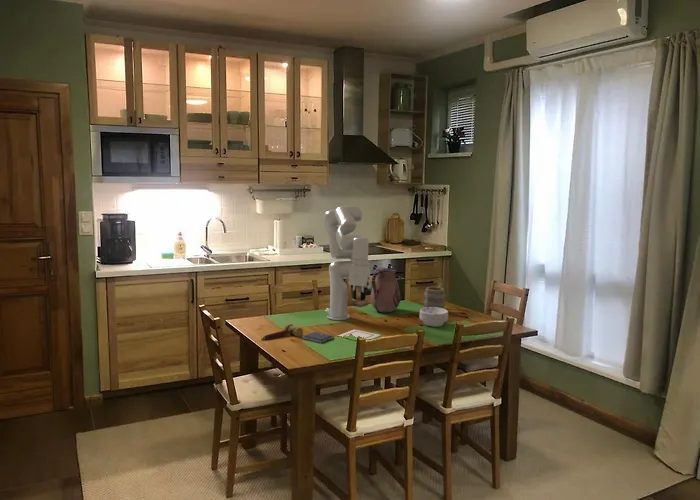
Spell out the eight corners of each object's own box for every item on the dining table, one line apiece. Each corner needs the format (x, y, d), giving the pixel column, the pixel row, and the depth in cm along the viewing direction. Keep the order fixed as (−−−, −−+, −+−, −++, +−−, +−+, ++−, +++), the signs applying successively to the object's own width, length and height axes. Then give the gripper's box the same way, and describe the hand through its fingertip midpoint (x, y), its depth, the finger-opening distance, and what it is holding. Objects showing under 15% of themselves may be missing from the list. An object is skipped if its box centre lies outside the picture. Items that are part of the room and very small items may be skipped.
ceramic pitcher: (404, 309, 335) (406, 268, 331) (388, 317, 317) (390, 273, 313) (378, 305, 344) (379, 265, 340) (361, 313, 326) (362, 270, 322)
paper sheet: (336, 336, 279) (336, 335, 279) (354, 329, 291) (354, 329, 291) (363, 342, 270) (363, 341, 270) (380, 335, 282) (380, 334, 282)
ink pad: (301, 338, 274) (301, 335, 274) (314, 334, 282) (315, 331, 282) (321, 343, 267) (321, 340, 267) (334, 338, 275) (334, 335, 275)
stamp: (350, 305, 277) (351, 285, 276) (357, 303, 282) (358, 283, 281) (361, 307, 274) (361, 287, 272) (367, 305, 279) (368, 285, 277)
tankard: (440, 315, 323) (441, 289, 321) (419, 312, 329) (420, 287, 327) (452, 308, 340) (453, 284, 338) (432, 305, 347) (433, 281, 344)
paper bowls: (440, 330, 294) (441, 315, 293) (414, 325, 302) (414, 310, 301) (452, 323, 306) (452, 309, 305) (426, 319, 314) (426, 305, 313)
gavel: (266, 337, 266) (255, 332, 274) (266, 346, 267) (256, 341, 275) (303, 327, 279) (292, 322, 287) (303, 336, 280) (292, 331, 288)
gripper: (342, 261, 277) (341, 298, 279) (370, 265, 267) (369, 303, 270) (350, 259, 283) (350, 295, 285) (378, 263, 273) (377, 300, 276)
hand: (359, 298), depth 278 cm, fingers closed on stamp, 3 cm apart
